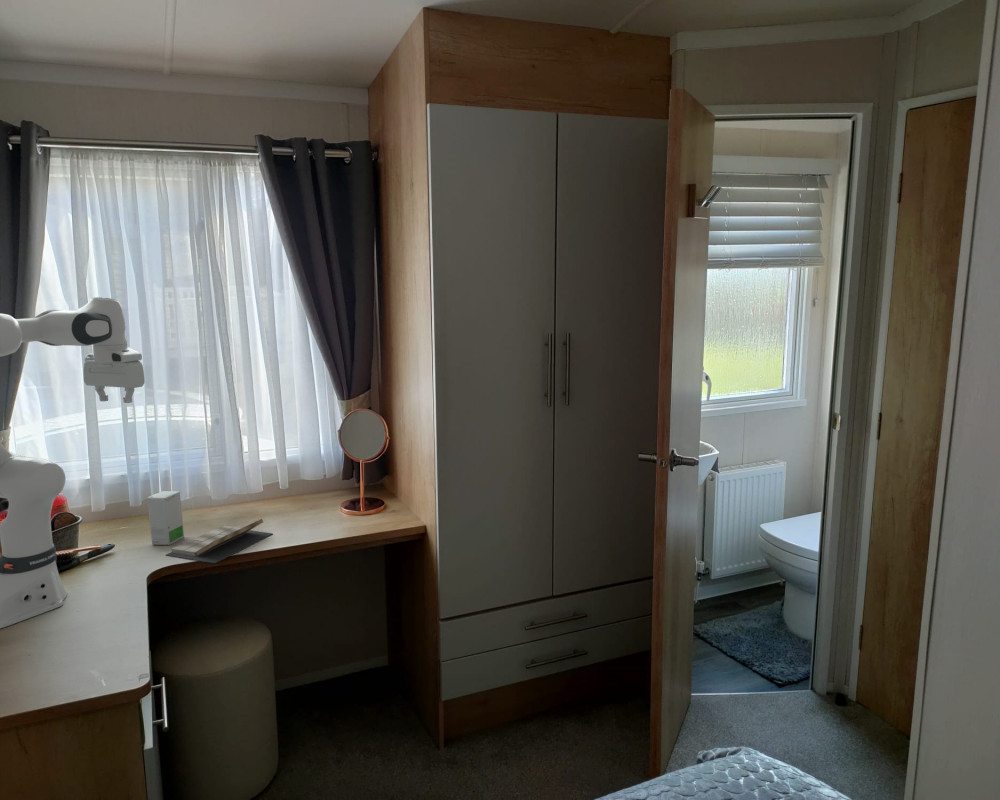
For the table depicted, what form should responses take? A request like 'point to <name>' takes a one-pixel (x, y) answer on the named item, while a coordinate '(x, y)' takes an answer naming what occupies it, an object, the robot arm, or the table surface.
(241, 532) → the plank
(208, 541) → the laid floor
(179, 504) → the skincare box
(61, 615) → the table surface
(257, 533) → the underlay
